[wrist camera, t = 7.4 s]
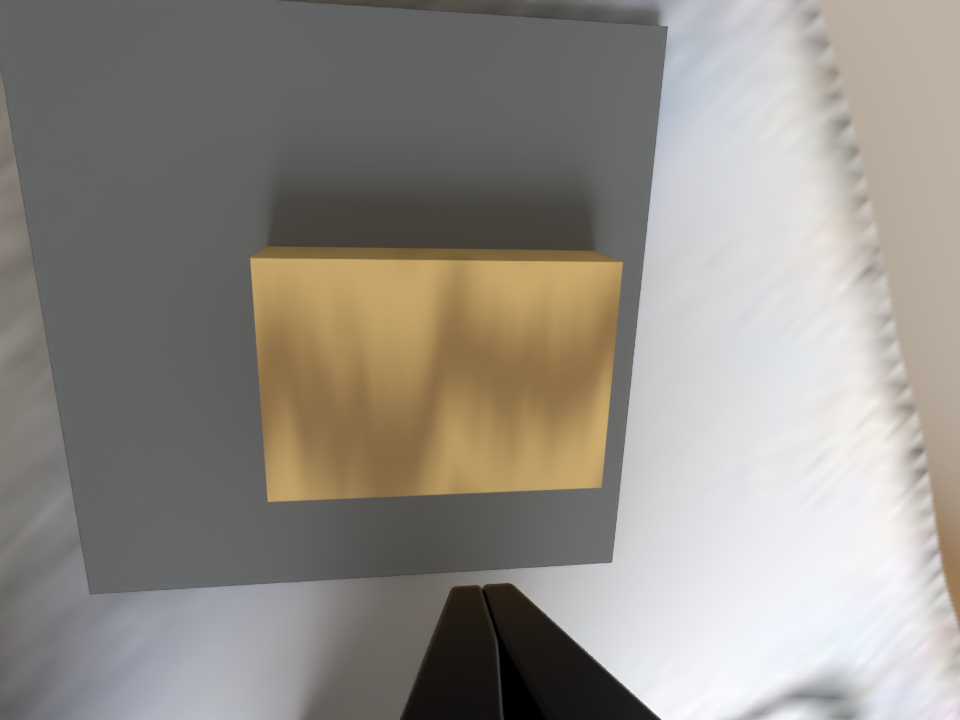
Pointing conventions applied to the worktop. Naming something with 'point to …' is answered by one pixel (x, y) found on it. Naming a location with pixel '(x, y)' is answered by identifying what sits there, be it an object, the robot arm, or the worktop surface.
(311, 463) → the ochre block
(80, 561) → the worktop surface
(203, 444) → the rubber mat
